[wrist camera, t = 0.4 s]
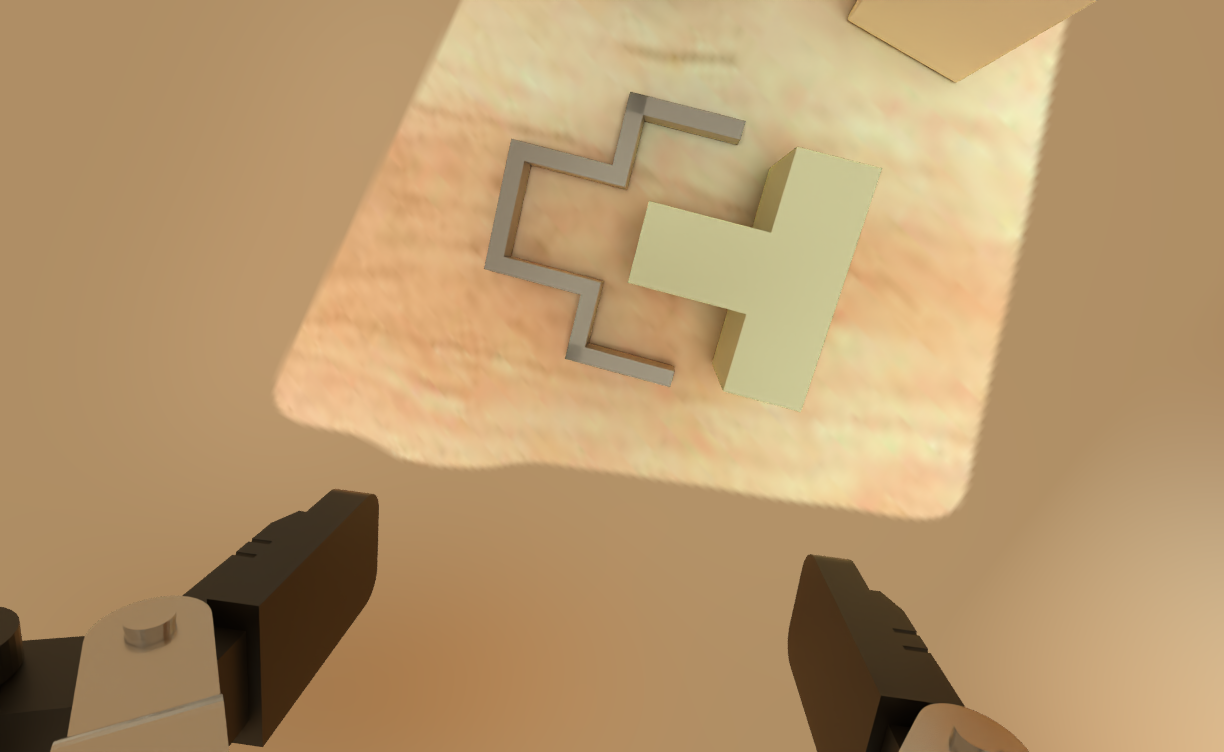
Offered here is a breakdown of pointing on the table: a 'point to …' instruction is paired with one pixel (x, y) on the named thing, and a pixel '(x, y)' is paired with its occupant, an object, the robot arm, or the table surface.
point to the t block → (766, 270)
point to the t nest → (604, 173)
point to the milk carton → (960, 28)
